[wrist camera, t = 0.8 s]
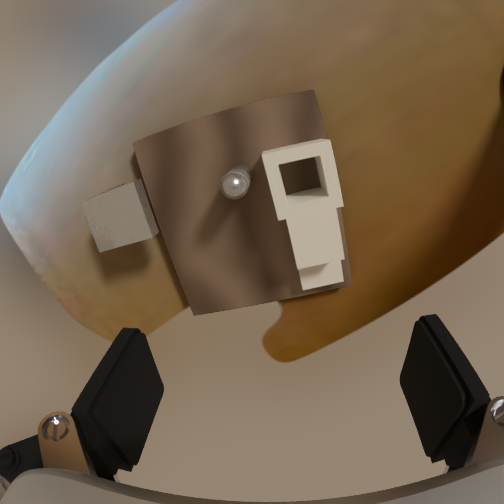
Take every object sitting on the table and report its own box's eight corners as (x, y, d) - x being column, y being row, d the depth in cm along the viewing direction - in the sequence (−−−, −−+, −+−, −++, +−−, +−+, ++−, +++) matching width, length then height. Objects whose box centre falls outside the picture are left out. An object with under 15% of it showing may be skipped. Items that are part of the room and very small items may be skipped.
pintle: (249, 161, 25) (242, 170, 20) (255, 183, 26) (250, 198, 21) (227, 167, 26) (214, 178, 20) (233, 189, 27) (222, 205, 21)
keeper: (157, 171, 28) (133, 181, 23) (172, 218, 30) (153, 237, 25) (109, 189, 29) (80, 202, 24) (124, 232, 31) (99, 252, 25)
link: (263, 151, 25) (261, 154, 21) (321, 138, 24) (330, 139, 21) (295, 284, 30) (298, 305, 26) (346, 272, 29) (355, 293, 25)
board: (311, 91, 24) (313, 89, 23) (348, 278, 31) (352, 285, 29) (138, 141, 27) (132, 142, 25) (196, 308, 33) (193, 315, 32)
